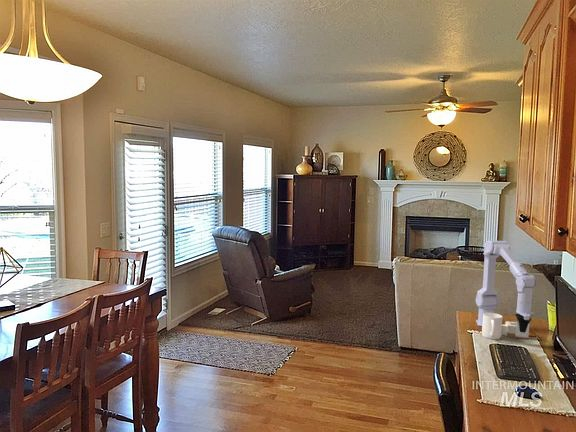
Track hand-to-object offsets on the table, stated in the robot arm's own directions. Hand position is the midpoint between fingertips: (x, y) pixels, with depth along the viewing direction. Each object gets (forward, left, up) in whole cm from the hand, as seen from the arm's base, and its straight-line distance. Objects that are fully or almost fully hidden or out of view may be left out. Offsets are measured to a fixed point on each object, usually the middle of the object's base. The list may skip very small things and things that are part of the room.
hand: (522, 331), depth 212 cm
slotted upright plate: (-11, -5, -6) cm, 13 cm away
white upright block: (0, 0, -2) cm, 2 cm away
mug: (-3, -12, -6) cm, 14 cm away
